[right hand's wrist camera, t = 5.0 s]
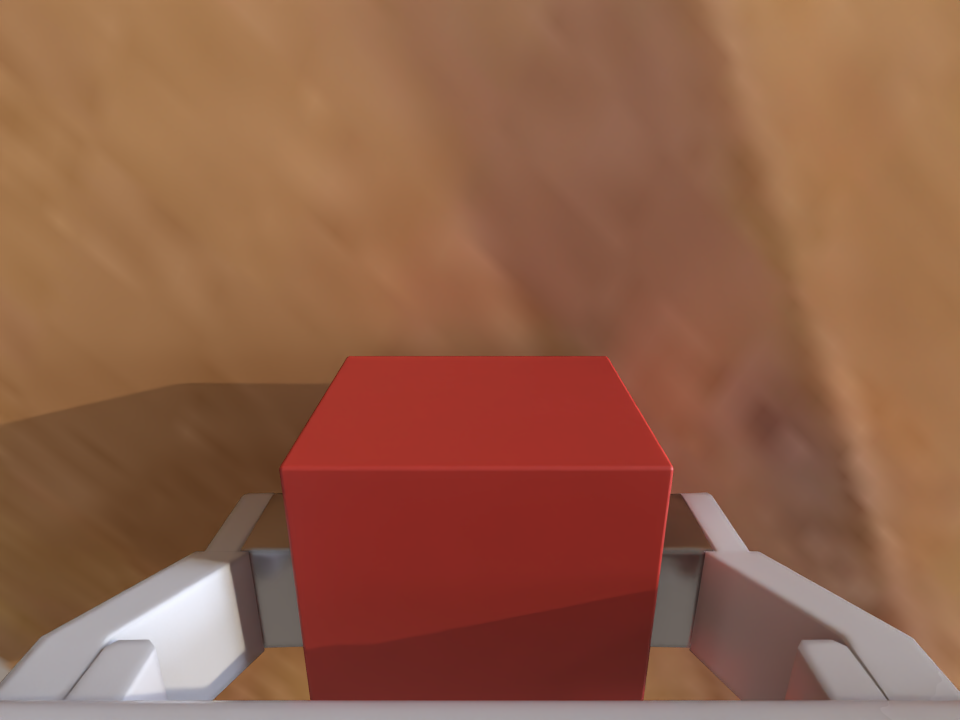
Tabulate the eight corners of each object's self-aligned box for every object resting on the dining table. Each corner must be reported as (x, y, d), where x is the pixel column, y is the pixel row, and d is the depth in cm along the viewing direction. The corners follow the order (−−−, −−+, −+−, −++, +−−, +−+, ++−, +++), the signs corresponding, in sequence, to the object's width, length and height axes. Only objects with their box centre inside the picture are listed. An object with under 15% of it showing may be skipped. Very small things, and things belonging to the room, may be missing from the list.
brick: (346, 355, 11) (276, 467, 7) (607, 355, 11) (675, 467, 7) (364, 574, 13) (316, 756, 9) (590, 574, 13) (637, 756, 9)
